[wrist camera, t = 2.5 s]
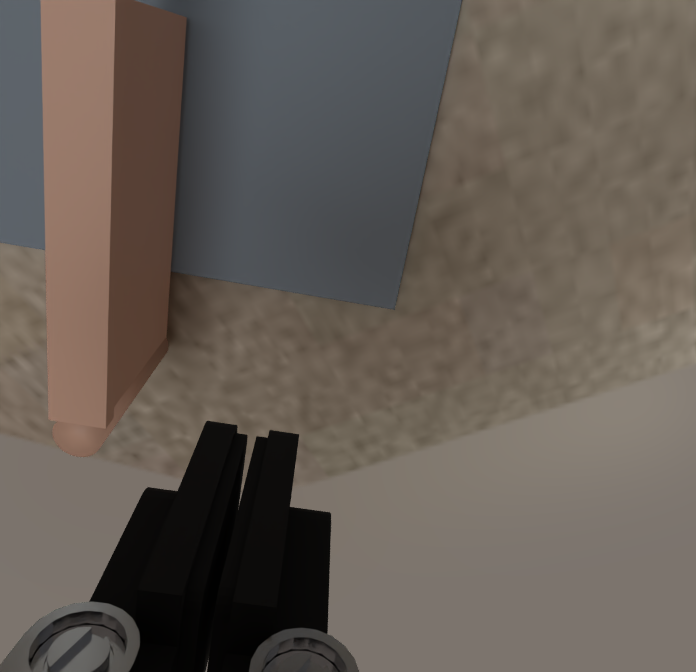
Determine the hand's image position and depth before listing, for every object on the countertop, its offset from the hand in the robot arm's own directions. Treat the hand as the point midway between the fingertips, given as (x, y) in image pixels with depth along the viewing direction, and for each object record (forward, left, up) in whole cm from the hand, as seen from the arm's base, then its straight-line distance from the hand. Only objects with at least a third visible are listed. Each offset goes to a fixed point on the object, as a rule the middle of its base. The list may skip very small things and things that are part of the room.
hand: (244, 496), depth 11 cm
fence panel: (+5, -2, -12) cm, 14 cm away
